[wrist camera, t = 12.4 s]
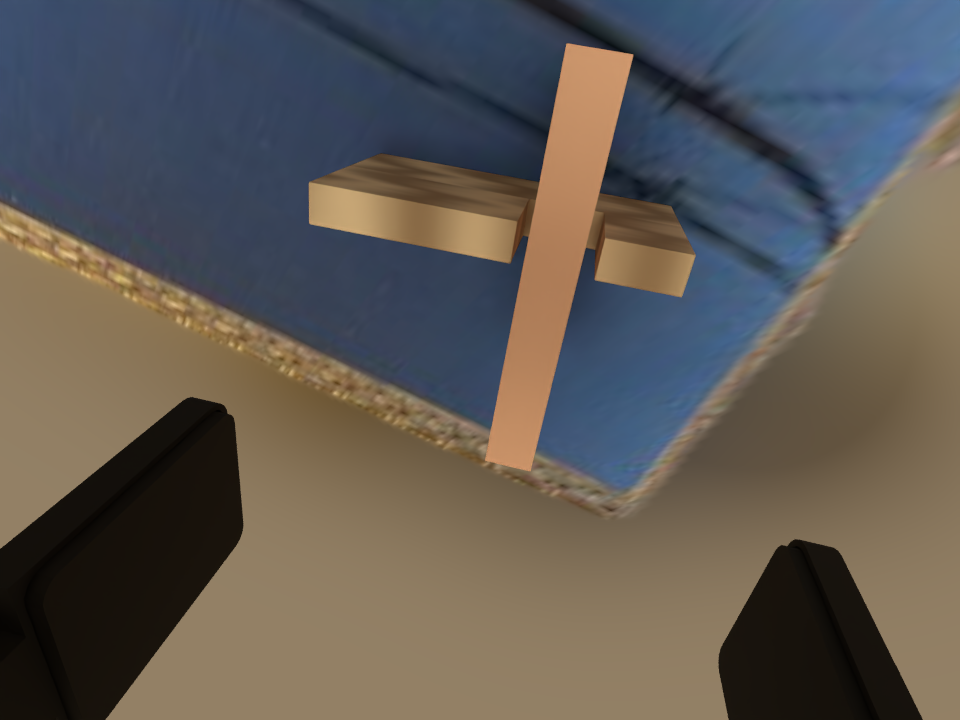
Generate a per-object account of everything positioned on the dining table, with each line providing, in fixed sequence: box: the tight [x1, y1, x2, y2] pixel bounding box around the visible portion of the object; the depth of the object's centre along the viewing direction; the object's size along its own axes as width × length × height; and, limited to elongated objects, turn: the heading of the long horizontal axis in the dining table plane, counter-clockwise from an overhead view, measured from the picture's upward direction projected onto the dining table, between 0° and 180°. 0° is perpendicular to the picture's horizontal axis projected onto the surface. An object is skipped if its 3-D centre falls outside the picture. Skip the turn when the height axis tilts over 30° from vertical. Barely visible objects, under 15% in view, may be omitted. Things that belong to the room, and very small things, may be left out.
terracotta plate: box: [485, 43, 633, 471], centre depth 28 cm, size 2×16×16 cm, turn 171°
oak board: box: [309, 153, 696, 297], centre depth 31 cm, size 18×2×10 cm, turn 82°
